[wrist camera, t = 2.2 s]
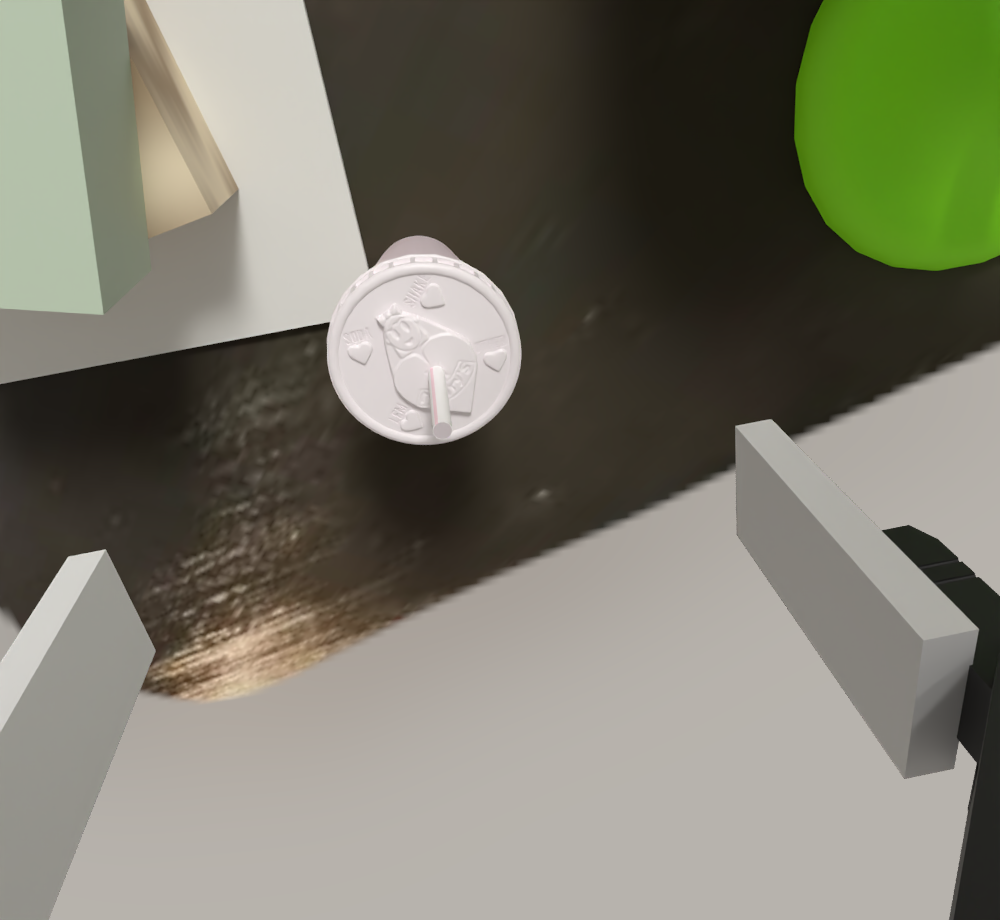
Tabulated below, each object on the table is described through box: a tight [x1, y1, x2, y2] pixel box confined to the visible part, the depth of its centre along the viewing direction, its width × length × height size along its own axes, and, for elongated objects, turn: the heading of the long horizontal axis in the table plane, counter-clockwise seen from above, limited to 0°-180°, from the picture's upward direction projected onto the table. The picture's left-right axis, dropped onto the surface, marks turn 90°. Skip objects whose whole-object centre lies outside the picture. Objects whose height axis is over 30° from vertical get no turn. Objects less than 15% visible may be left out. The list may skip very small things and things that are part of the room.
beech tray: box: [124, 0, 238, 239], centre depth 27 cm, size 10×10×5 cm
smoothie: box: [327, 236, 521, 445], centre depth 28 cm, size 6×6×14 cm
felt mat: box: [0, 0, 369, 384], centre depth 29 cm, size 20×20×1 cm
